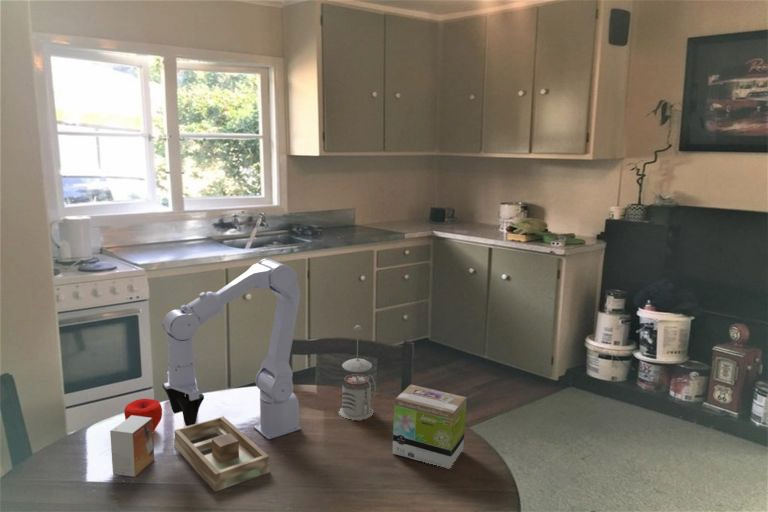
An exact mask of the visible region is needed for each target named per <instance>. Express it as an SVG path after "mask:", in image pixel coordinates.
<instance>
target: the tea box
mask: <svg viewBox="0 0 768 512" xmlns="http://www.w3.org/2000/svg"><path fill="white" fill-rule="evenodd" d="M467 400H468V398H467V396H463V395H457V394H454V393H450V392H445V391H441V390H436V389H434V388H433V389H432V388H428V387H424V386H419V385H415V384H409V385H407V387H406V388H405V389H404V390H403V391H402V392H401V393H400V394H398V396H397V397H396V398H394V406H393V407H394V408H393V424H392V425H393V427H392V428H393V429H392V455H397V456H400V457H405V458H409V459H411V460H414V461H419V462H421V461H422V463H424V462H425V464H428V463H429V464H428V465H431V464H433V465H432V466H434V465H437V466H436V467H438V466H441V467H447V468H451V469H452V467H453V466H454V464H455V463H456V462H455V461H457V460H458V459H457V457H458V456H459V455H460V453H461V452H462V453H463V451H464V443H465V432H466V431H465V430H466V417H467V416H466V415H467ZM462 450H463V451H462ZM462 453H461V454H462ZM460 456H461V455H460ZM460 456H459V457H460ZM459 457H458V458H459ZM456 459H457V460H456ZM454 462H455V463H454ZM453 463H454V464H453ZM452 465H453V466H452ZM451 466H452V467H451ZM441 467H440V468H441Z"/></svg>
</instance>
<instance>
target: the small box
mask: <svg viewBox="0 0 768 512" xmlns="http://www.w3.org/2000/svg"><path fill="white" fill-rule="evenodd" d="M109 433H110V447H111V450H110V451H111V465H112V474H113V475H118V476H126V477H131V478H132V477H134V478H135V477H136V476H138V474H140V473H141V472H142V471H143V470H144V469H145V468H146V467H148V466H149V465H150V464H151V463H153V460H154V461H155V445H154V444H155V442H154V431H153V418H149V417H141V416H133V415H131V416H130V417H129V418H128V419H126V420H123V422H121V423H120V424H117V426H115V427H114V428H112V429H110V430H109Z"/></svg>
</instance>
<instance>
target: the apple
mask: <svg viewBox="0 0 768 512" xmlns="http://www.w3.org/2000/svg"><path fill="white" fill-rule="evenodd" d="M123 412H124V413H123V414H124V419H125V420H126V419H128V418H129V417H130V416H131V415H133V416H141V417H149V418H153V432H155V430H156V428H157V427H158V426H159V424H160V423H161V420H162V416H163V407H162V403H161V402H159V400H157V399H152V398H140V399H136V400H133V401H131V402H128V404H126V406H125V407H124V411H123ZM125 420H124V421H125Z"/></svg>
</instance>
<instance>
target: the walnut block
mask: <svg viewBox="0 0 768 512" xmlns="http://www.w3.org/2000/svg"><path fill="white" fill-rule="evenodd" d="M212 455H213V456H214V457H215V458H216V459H217V460H218V461H219V462H220V463H223V462H226V461H229V460H232V459H235V458H238V457H239V441H238V440H237V439H236V438H235V437H234V436H233V435H232V434H230V433H229V434H226V435H223V436H219V437H216V438H213V439H212Z"/></svg>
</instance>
